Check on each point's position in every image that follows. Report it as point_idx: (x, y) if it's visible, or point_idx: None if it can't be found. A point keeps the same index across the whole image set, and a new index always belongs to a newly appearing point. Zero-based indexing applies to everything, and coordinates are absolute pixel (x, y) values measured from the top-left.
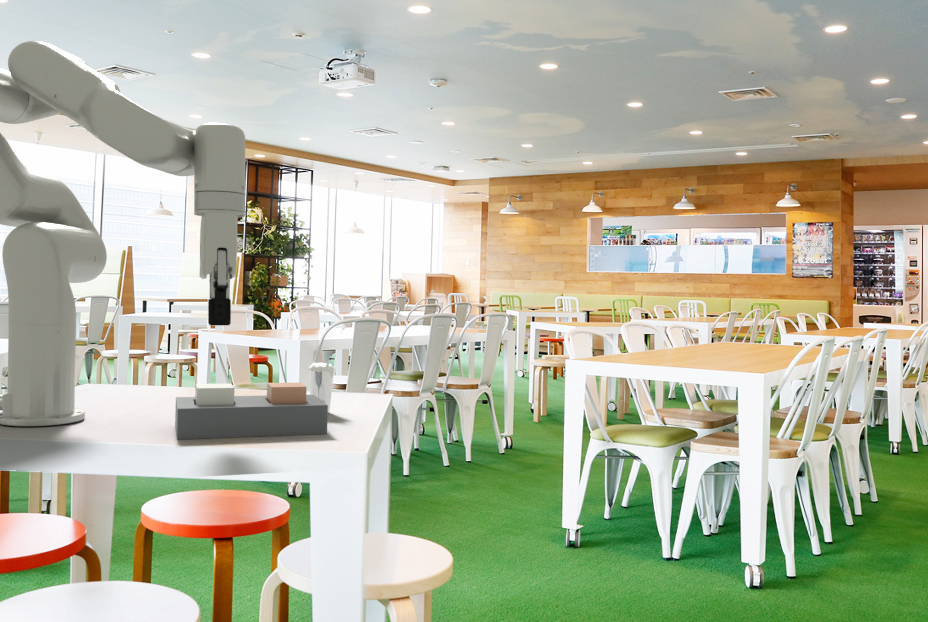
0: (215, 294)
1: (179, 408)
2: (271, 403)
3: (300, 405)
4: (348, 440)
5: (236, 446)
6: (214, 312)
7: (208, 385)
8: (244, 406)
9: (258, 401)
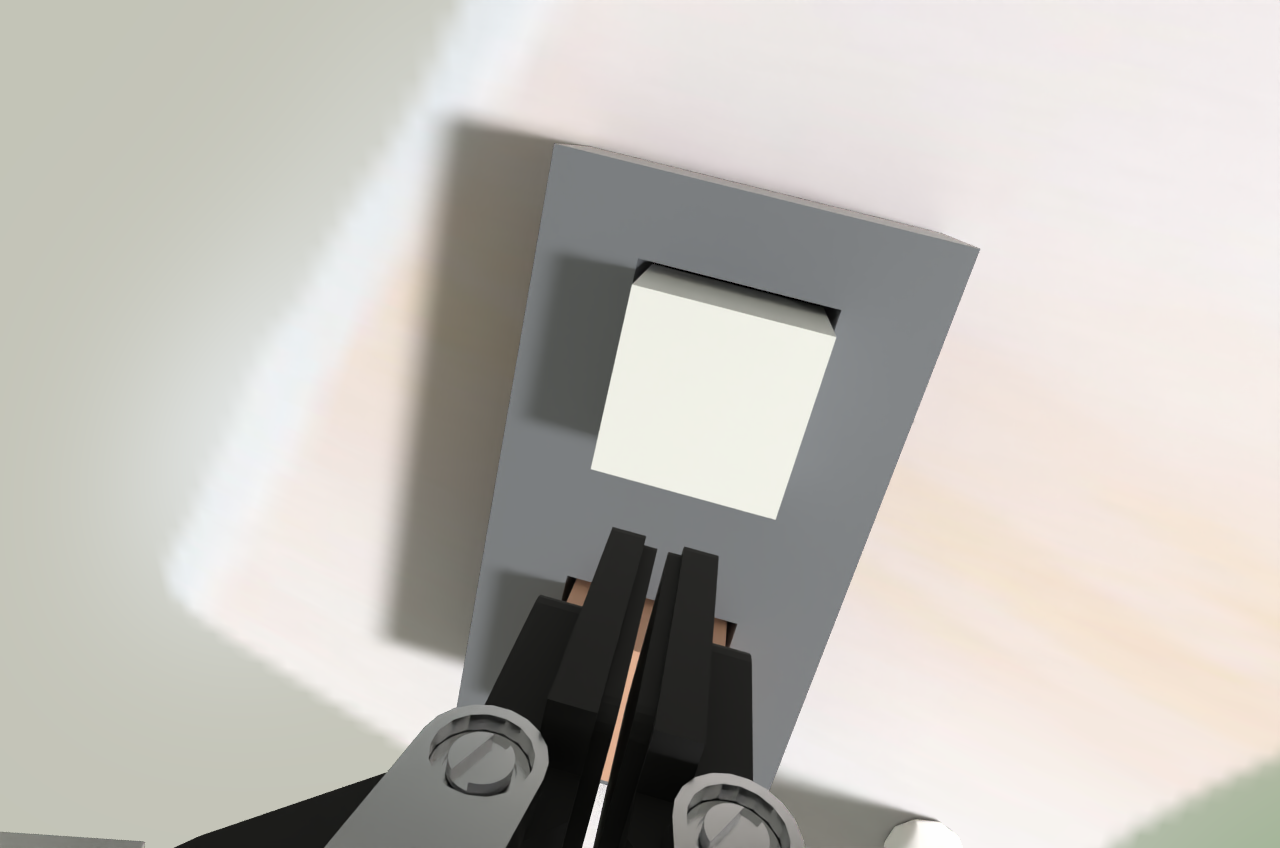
0: (361, 784)
1: (558, 153)
2: (574, 585)
3: (476, 654)
4: (367, 665)
5: (381, 317)
6: (562, 638)
7: (736, 381)
8: (520, 452)
9: None
